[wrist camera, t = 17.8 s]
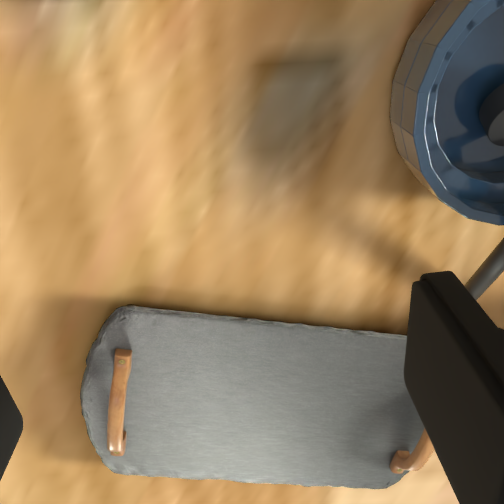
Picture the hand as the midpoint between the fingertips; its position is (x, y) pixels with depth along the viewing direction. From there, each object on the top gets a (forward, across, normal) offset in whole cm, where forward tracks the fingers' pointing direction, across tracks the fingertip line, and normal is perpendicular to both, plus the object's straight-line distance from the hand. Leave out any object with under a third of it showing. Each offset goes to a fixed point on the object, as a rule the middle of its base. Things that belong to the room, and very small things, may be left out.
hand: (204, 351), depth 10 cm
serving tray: (+27, -2, +31) cm, 41 cm away
